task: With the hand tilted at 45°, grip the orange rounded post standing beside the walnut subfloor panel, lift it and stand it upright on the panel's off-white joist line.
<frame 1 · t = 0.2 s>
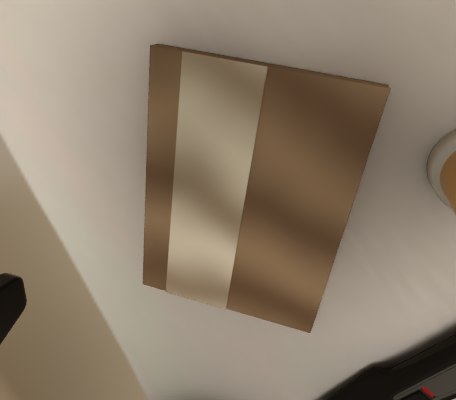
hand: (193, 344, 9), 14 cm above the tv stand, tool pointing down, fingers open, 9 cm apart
subfloor panel: (243, 199, 23), on the tv stand
electric trimmer: (406, 367, 26), on the tv stand
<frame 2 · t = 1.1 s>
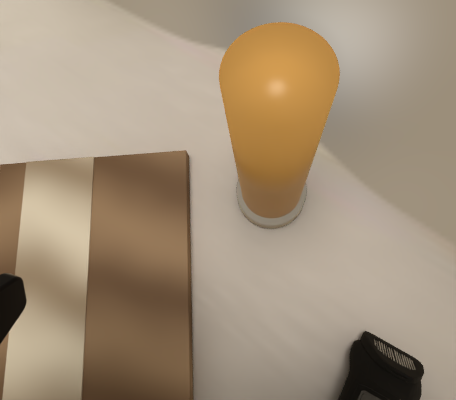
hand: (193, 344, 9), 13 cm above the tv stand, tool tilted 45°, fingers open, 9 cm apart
subfloor panel: (91, 289, 23), on the tv stand
orange rounded post: (270, 196, 23), on the tv stand
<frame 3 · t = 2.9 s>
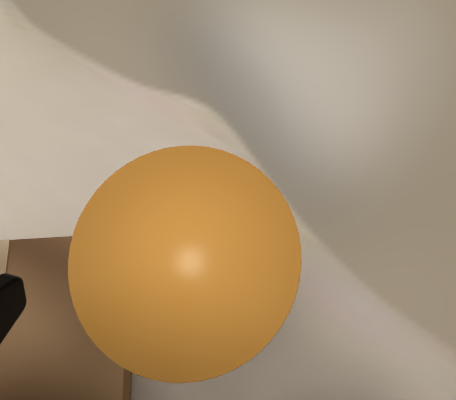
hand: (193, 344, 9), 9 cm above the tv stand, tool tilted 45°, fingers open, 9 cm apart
orange rounded post: (237, 293, 18), on the tv stand
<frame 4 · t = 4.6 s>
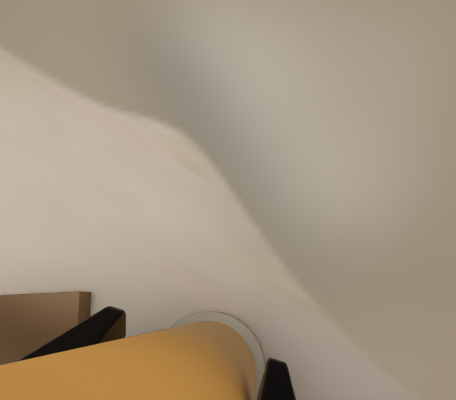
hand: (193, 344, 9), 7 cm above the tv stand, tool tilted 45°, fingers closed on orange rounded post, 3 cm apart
orange rounded post: (212, 365, 15), on the tv stand, touching gripper
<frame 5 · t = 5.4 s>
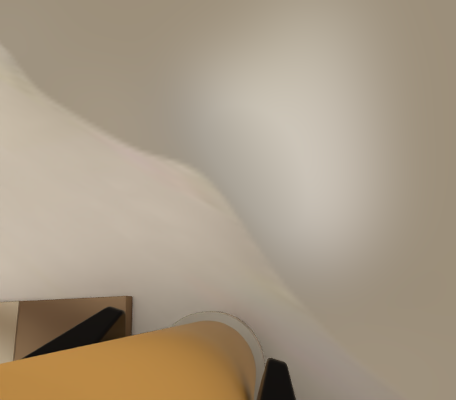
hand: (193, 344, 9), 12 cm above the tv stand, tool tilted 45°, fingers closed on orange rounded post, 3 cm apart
orange rounded post: (212, 365, 15), point 5 cm above the tv stand, touching gripper
when the fingers open (9 cm above the tv stand, at t = 7.9 s): orange rounded post drops 1 cm, resting on subfloor panel.
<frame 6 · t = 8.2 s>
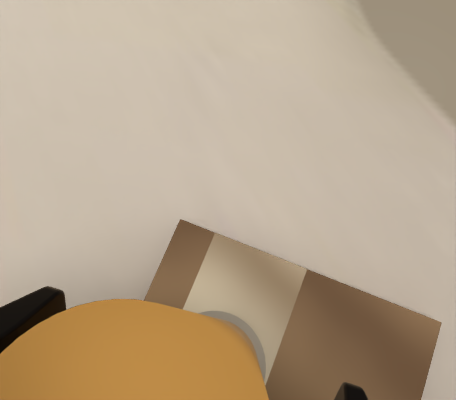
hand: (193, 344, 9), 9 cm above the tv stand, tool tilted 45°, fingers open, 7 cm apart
orange rounded post: (216, 362, 16), point 1 cm above the tv stand, touching subfloor panel
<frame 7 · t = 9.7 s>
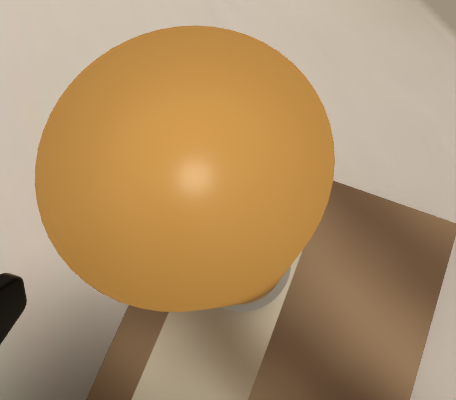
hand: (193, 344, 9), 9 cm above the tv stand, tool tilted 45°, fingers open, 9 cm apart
subfloor panel: (261, 346, 17), on the tv stand
orange rounded post: (242, 263, 17), point 1 cm above the tv stand, touching subfloor panel
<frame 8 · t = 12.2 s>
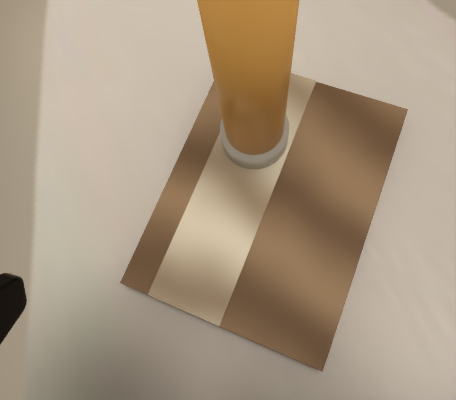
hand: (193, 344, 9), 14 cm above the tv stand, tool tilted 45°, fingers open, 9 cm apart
subfloor panel: (268, 198, 24), on the tv stand
orange rounded post: (254, 138, 24), point 1 cm above the tv stand, touching subfloor panel
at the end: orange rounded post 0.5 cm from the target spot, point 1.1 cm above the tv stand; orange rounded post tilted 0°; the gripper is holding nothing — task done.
